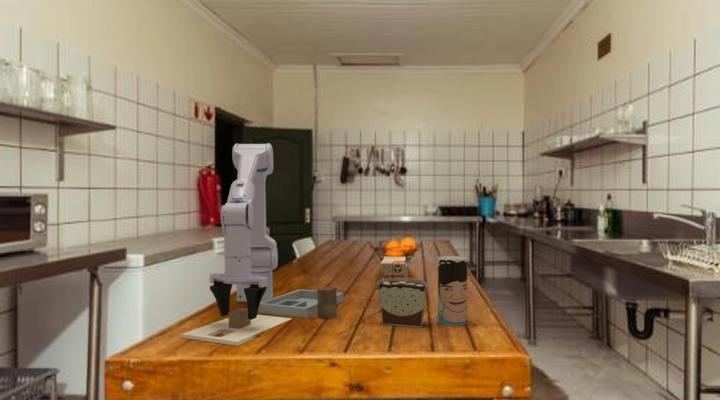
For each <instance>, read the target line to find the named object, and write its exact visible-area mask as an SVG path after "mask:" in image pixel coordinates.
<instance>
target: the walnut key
mask: <svg viewBox="0 0 720 400" xmlns="http://www.w3.org/2000/svg"><path fill="white" fill-rule="evenodd" d="M316 291H317V298H318V313H317V319H322V320H323V319H325V320H330V319H332V318H334V317H336V316H337V315H338V309H337V307H338V306H337V305H338V304H337V287H331V286H324V287H321V288H319V289H317V290H316Z"/></svg>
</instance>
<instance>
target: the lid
mask: <svg viewBox="0 0 720 400" xmlns="http://www.w3.org/2000/svg"><path fill="white" fill-rule="evenodd" d="M290 320H292V317H283V316H281V317H280V316H273V315H272V316H271V315H266V314H265V315H263V314H257V318H254V319H252V320H249V319H248V308H245V307H243V308H242V307H239V308H236V309H233V310H230V311H229V315H228V317H226V318H224V319H219V320H218V321H214V322H212V323H209V324H206V325H203V326H201V327H198V328H194V329H191V330H190V331H186V332H183V333H181V338H182V339H188V340H194V341H202V342H208V343H209V342H210V343H216V344H223V345H228V346H229V345H230V346H235V347H238V346H240V345H242V344H245V343H247V342H250V341H251V340H255V339H256V338H258V337H260V336H262V335H261V334H260V333H262V332H264V331H267V330H269V329H272V328H274V327H276V326H279V325H281V324H283V323H285V322H288V321H290ZM219 334H225V335H223V336H216V335H219ZM258 334H260V335H258Z"/></svg>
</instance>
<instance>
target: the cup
mask: <svg viewBox="0 0 720 400" xmlns="http://www.w3.org/2000/svg"><path fill="white" fill-rule="evenodd" d="M437 266H438V267H437V291H438V292H437V294H438V295H437V297H438V299H437V301H438V305H437V306H438V307H437V308H438V309H437V310H438V311H437V312H438V324H441V325H445V326H451V327H452V326H455V327H457V326H464V325H466V324H468V257H465V256H457V255H446V256H445V255H444V256H438V258H437Z"/></svg>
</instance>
